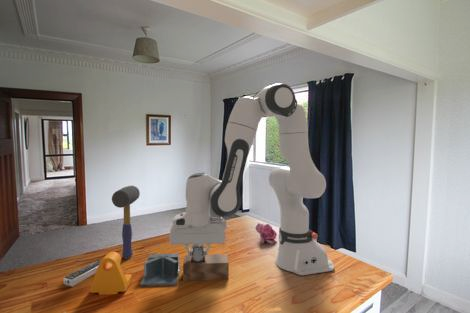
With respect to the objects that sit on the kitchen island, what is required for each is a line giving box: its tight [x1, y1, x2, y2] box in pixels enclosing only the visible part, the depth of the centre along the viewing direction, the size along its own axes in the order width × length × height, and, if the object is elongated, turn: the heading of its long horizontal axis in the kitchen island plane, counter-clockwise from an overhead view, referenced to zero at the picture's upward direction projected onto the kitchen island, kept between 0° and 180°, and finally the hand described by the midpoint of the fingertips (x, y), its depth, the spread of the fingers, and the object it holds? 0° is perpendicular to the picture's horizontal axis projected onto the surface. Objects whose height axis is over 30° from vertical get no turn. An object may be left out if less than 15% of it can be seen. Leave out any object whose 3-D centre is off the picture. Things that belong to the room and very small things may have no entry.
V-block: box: [139, 252, 182, 288], centre depth 93 cm, size 12×12×6 cm
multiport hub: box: [63, 259, 102, 287], centre depth 95 cm, size 4×14×2 cm, turn 160°
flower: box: [255, 223, 278, 245], centre depth 127 cm, size 11×10×10 cm
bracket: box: [89, 251, 133, 296], centre depth 86 cm, size 11×7×12 cm, turn 95°
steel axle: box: [191, 244, 205, 263], centre depth 94 cm, size 4×4×11 cm
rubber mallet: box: [111, 185, 141, 260], centre depth 107 cm, size 12×8×30 cm, turn 0°
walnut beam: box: [182, 253, 230, 282], centre depth 95 cm, size 16×7×6 cm, turn 95°
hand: (197, 254), depth 94 cm, fingers closed on steel axle, 4 cm apart
